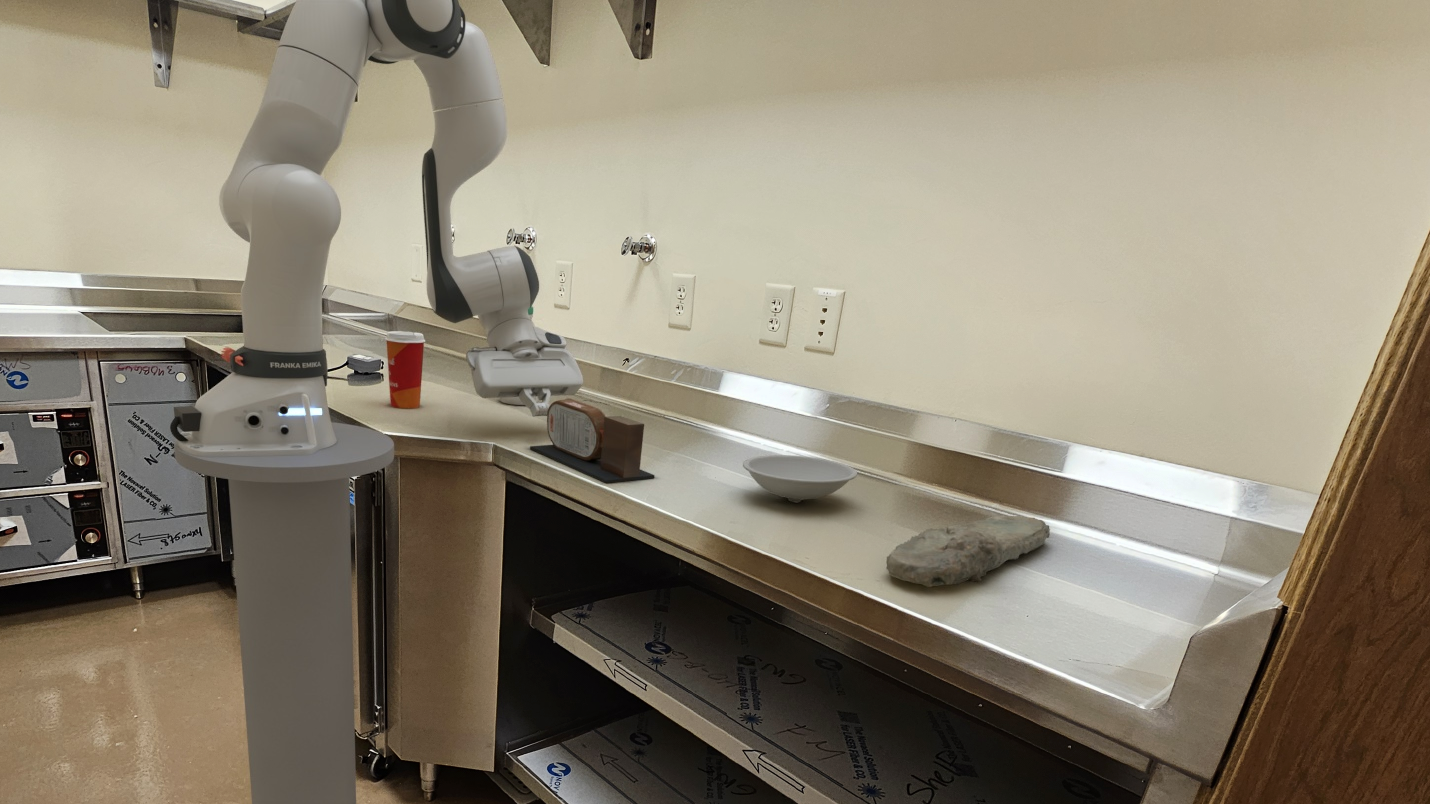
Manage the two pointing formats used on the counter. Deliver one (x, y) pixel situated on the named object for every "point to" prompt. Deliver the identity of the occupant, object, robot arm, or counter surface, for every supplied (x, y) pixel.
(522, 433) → the counter surface
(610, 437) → the brown rectangular block
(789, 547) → the counter surface
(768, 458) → the dish
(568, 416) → the tin
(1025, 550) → the long grey stone
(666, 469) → the counter surface
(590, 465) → the mat
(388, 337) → the paper cup
